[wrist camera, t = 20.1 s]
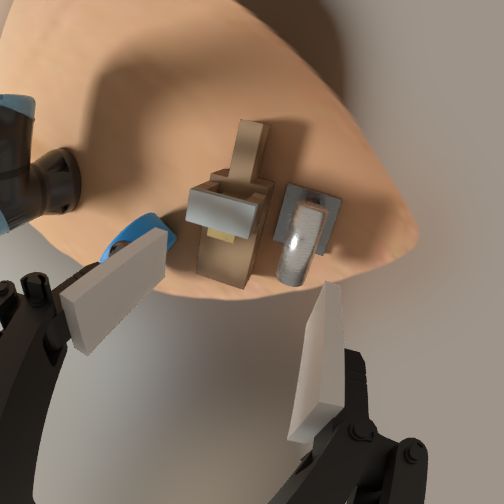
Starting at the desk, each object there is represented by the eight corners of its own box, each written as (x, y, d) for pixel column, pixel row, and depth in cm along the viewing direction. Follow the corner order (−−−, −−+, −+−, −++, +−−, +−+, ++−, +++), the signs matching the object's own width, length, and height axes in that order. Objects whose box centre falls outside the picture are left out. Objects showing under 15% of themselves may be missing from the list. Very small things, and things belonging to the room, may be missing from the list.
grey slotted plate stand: (273, 238, 42) (266, 253, 37) (288, 182, 38) (283, 190, 33) (323, 253, 41) (322, 271, 36) (341, 198, 37) (344, 209, 32)
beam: (251, 274, 46) (231, 312, 36) (207, 260, 47) (178, 292, 37) (287, 129, 35) (274, 125, 25) (234, 118, 36) (203, 112, 26)
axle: (304, 273, 37) (304, 289, 34) (276, 266, 37) (274, 281, 34) (326, 206, 33) (330, 216, 29) (296, 197, 33) (296, 206, 29)
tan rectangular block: (241, 232, 38) (233, 243, 34) (217, 225, 38) (206, 235, 35) (249, 198, 35) (241, 206, 32) (224, 191, 36) (213, 198, 32)
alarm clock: (166, 202, 44) (108, 232, 31) (190, 228, 45) (139, 267, 32) (132, 247, 50) (81, 283, 37) (153, 270, 51) (106, 312, 38)
